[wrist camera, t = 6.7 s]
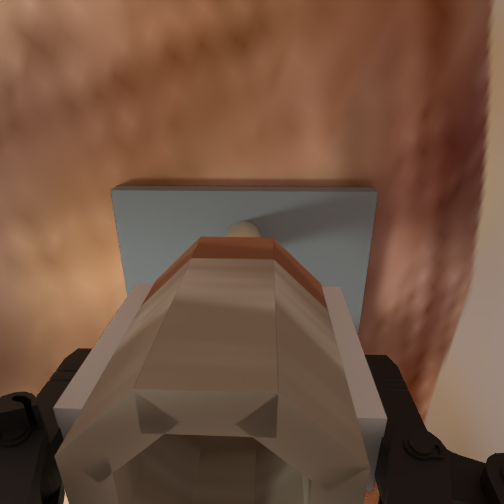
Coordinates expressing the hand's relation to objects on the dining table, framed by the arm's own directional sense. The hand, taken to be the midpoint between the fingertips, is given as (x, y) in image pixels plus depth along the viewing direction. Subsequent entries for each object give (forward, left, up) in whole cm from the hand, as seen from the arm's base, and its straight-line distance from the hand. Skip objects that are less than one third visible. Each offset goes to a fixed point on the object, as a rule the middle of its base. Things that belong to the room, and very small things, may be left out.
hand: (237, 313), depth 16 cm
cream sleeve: (0, 0, 0) cm, 0 cm away
